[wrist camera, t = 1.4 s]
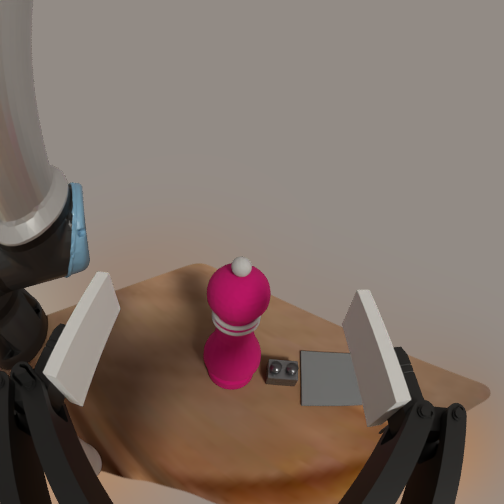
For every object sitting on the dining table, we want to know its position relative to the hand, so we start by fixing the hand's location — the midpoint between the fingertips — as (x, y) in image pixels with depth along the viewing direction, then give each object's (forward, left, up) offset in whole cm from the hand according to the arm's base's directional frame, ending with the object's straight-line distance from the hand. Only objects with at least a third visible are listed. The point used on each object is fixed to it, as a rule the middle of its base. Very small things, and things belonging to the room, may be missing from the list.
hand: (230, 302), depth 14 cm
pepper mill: (0, +9, -24) cm, 26 cm away
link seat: (+15, +9, -24) cm, 29 cm away
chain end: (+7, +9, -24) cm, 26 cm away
